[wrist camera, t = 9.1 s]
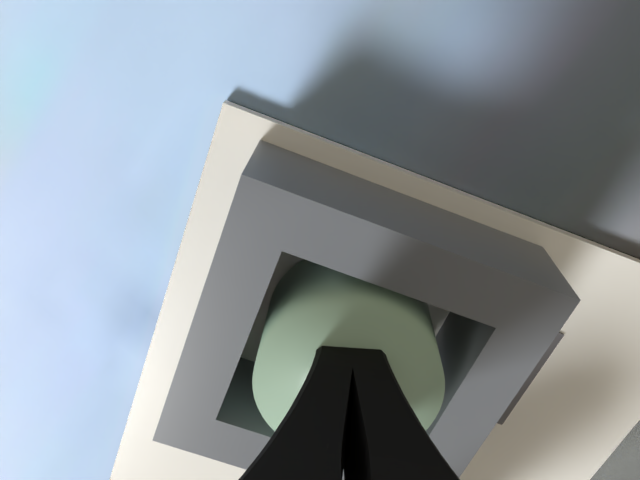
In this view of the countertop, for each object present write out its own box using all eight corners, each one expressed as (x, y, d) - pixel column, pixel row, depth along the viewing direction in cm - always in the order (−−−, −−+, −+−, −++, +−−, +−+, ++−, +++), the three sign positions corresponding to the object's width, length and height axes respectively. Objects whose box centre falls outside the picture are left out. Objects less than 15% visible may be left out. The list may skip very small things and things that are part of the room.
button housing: (416, 451, 16) (426, 525, 14) (180, 374, 15) (152, 440, 13) (542, 246, 13) (580, 300, 11) (260, 139, 12) (241, 174, 10)
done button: (389, 402, 15) (396, 481, 13) (248, 355, 15) (228, 427, 12) (457, 281, 13) (480, 346, 11) (300, 224, 13) (288, 279, 11)
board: (418, 676, 21) (419, 689, 21) (79, 582, 20) (74, 594, 19) (730, 294, 14) (741, 303, 13) (225, 99, 12) (221, 104, 12)
